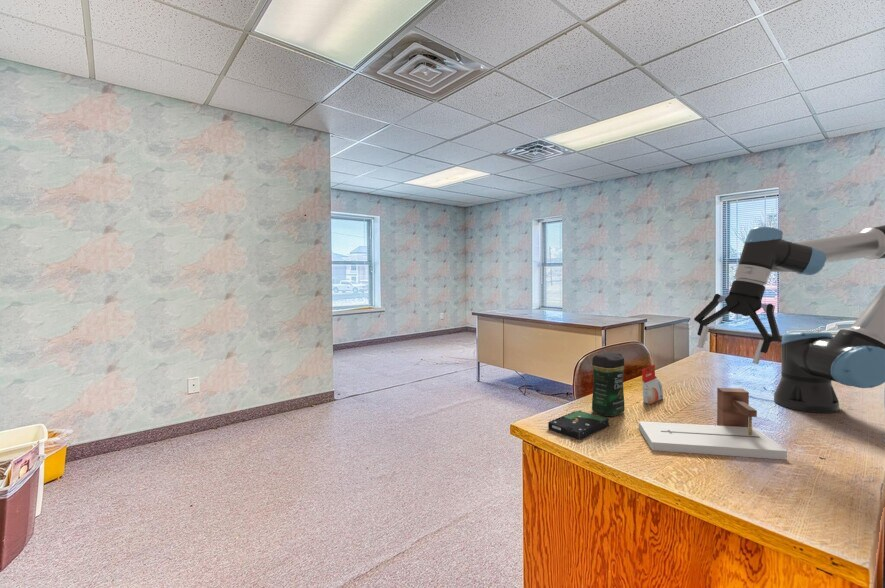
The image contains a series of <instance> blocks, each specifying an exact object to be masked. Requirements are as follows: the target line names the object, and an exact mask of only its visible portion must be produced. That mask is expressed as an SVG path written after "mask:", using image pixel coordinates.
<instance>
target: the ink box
mask: <svg viewBox="0 0 885 588" xmlns="http://www.w3.org/2000/svg"><path fill="white" fill-rule="evenodd" d="M648 370H649V371H648ZM641 373H642V374H641V381H642V398H643V399H642V400H643V403H644V404H646V403H647V404H646V405H652V404H654V403H656V402H658V401H660V400H662V399H664V394H663V393H664V392H663V391H664V390H663V385H662V382H661V381H660V379H659V378H658V377H657V376H656V364H652V365H649V366H647V367H644V368H642V370H641Z"/></svg>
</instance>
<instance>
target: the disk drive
mask: <svg viewBox="0 0 885 588" xmlns="http://www.w3.org/2000/svg"><path fill="white" fill-rule="evenodd" d="M547 425H548V430H549V431H552V432H556V433H558V434H560V435H563V436H566V437H568V436H569V438H571V437H572V439H574V438H575V440H578V441H581V440H584V439H586V438H588V437H590V436H592V435H593V434H595V433H597V432H600V431H602V430H605V429H607V428H608V427H610V418H609V417H604V416H602V415H599V414H596V413H595V414H594V413H588V412H585V411H582V410H580V409H579V410H576V411H572V412H570V413H568V414H567V413H566V414H565V415H562V416H559V417H557V418H555V419H552V420H549V421H548V423H547ZM591 434H592V435H591ZM589 435H590V436H589ZM587 436H588V437H587Z"/></svg>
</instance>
